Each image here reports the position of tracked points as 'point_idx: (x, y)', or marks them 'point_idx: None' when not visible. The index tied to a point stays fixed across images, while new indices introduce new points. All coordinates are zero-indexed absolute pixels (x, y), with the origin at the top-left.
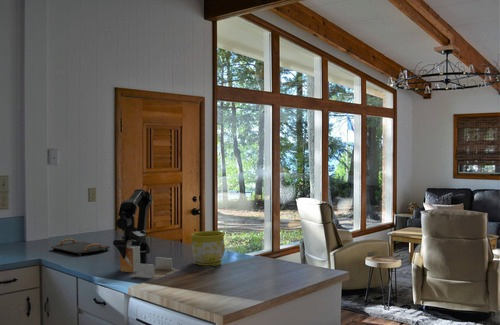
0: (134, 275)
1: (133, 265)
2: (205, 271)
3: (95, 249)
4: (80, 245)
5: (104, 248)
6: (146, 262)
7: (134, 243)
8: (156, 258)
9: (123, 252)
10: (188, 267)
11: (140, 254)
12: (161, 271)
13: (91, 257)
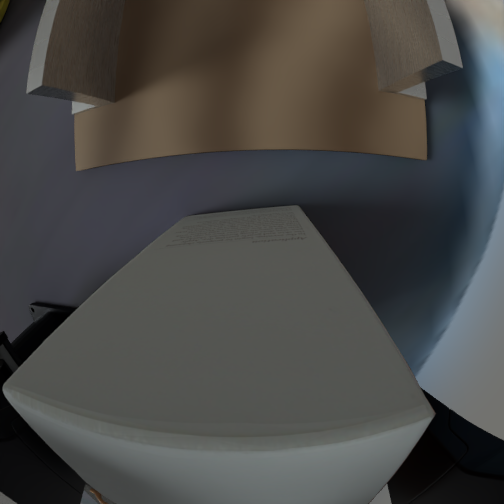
0: (397, 115)
1: (307, 221)
2: None
3: None
4: None
5: (92, 487)
6: (41, 315)
7: (56, 496)
8: (51, 70)
9: (445, 417)
10: (20, 28)
11: None
12: (173, 2)
13: None
